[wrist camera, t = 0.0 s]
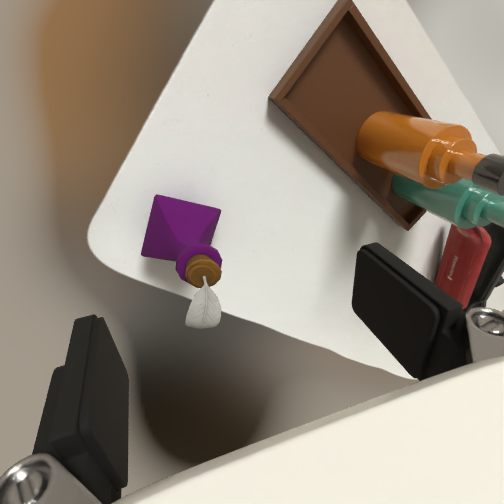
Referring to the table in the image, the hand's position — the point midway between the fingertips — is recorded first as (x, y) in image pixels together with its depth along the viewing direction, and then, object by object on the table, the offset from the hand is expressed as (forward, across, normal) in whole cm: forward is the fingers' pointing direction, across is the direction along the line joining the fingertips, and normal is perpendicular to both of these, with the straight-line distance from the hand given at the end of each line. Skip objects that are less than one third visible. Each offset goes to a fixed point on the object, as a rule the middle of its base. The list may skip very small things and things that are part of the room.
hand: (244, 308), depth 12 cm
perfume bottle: (+28, +1, +9) cm, 30 cm away
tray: (+28, -26, +3) cm, 39 cm away
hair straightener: (+28, -47, +35) cm, 65 cm away
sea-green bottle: (+28, -32, +9) cm, 44 cm away
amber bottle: (+28, -26, +3) cm, 38 cm away
